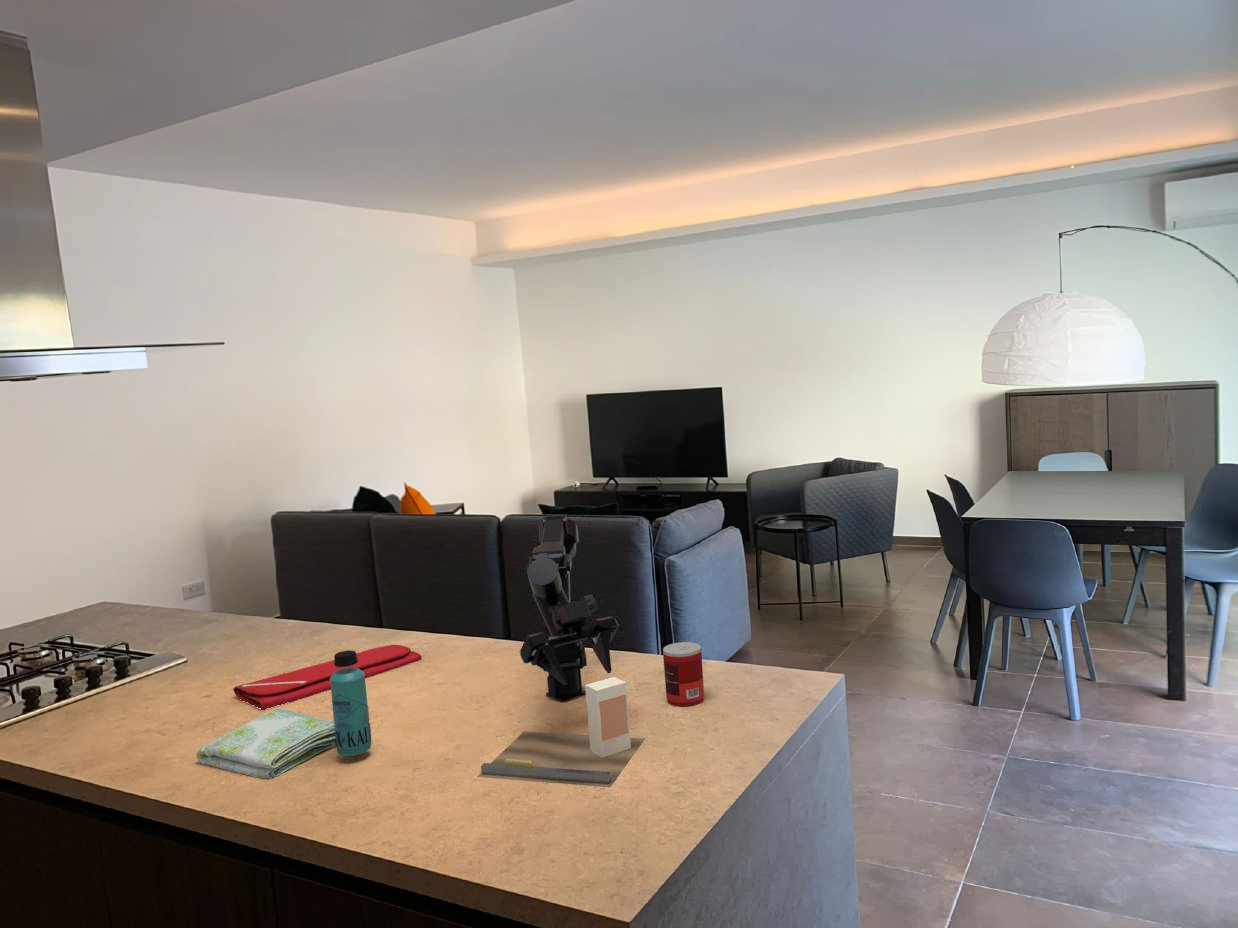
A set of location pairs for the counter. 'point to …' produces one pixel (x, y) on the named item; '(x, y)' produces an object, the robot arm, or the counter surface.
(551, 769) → the price rail
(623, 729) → the cream box
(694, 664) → the canned food
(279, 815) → the counter surface
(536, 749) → the shelf board
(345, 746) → the beverage bottle
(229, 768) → the towel
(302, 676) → the dish drying mat
